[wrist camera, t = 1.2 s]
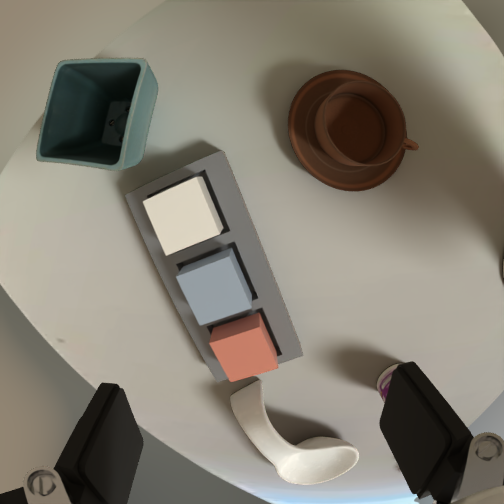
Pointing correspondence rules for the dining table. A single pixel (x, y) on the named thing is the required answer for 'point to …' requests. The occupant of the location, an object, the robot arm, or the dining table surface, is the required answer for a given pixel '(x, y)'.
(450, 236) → the dining table surface
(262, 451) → the spoon rest
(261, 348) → the key red
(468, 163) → the dining table surface
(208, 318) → the key blue
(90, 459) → the robot arm
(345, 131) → the cup and saucer
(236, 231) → the grey flat tray
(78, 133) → the flower pot
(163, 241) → the key white
